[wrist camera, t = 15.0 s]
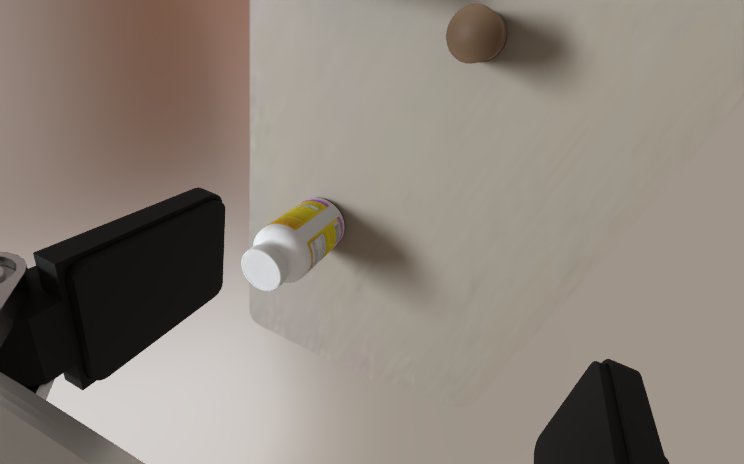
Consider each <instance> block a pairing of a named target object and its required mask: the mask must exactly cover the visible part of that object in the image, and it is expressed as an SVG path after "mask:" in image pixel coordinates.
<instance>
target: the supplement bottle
mask: <svg viewBox="0 0 744 464" xmlns="http://www.w3.org/2000/svg"><path fill="white" fill-rule="evenodd" d="M344 228H345V226H344V220H343V217H342V215H341V213H340V211H339V210H338V209H337V208H336V207H335V206H334V205H333V204H332V203H331V202H329V201H327V200H325V199H321V198H311V199H308V200H306V201H304V202H302V203H301V204H299V205H298V206H296V207H295V208H293V209H292V210H290V211H289V212H287V213H286V214H284V215H282V216H281V217H279V218H278V219H276V220H275V221H273V222H272V223H270V224H269V225H267V226H266V227H264V228H263V229H262V230H261V231H260V232H259V233H258V234H257V236H256V237H255V240H254V244H253V247H252V248H250V249H249V250H248V251H246V252H245V253H244V255H243V257H242V261H241V266H242V270H243V273H244V275H245V277H246V278H247V279H248V281H249V282H250V283H251V284H252V285H254V286H255V287H257V288H258V289H260V290H264V291H272V290H275V289H277V288H278V287H279V286H280V285H281V284H283V283H291V282H295V281H298V280H299V279H301V278H302V277H303V276H305V275H306V274H307V273H308V272H309V271H310V270H311V269H312V268H313V267H314V266H315V265H316V264H317V263H318V262H319V261H320V260H321V259H322V258H323V257H324V256H325V255H327V254H328V253H329V252H330V251H331V250H332V249H333V248H334V247H335V246H336V245H337V244H338V243H339V241H340V240H341V239H342V237H343V234H344Z"/></svg>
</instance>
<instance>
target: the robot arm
mask: <svg viewBox="0 0 744 464" xmlns="http://www.w3.org/2000/svg"><path fill="white" fill-rule="evenodd" d="M224 228H225V206H224V204H223V203H222V200H221V198H220V196H218V195H216V194H214V193H212V192H209V191H207V190H204V189H202V188H194V189H192V190H189V191H187V192H184V193H182V194H179V195H177V196H174V197H172V198H169V199H167V200H164V201H162V202H159V203H157V204H155V205H152V206H149V207H147V208H144V209H142V210H139V211H137V212H135V213H132V214H129V215H127V216H124V217H122V218H119V219H117V220H114V221H112V222H109V223H107V224H104V225H102V226H99V227H97V228H94V229H92V230H89V231H87V232H85V233H82V234H79V235H77V236H74V237H72V238H69V239H67V240H64V241H62V242H59V243H57V244H54V245H52V246H49V247H47V248H44V249H42V250H39V251H37V252H34V253H33V254H34V258H35V262H36V266H34V267H32V268H29V269H28V268H27V265H26V262H25V260H24V259H23V258H21V257H20V256H18V255H15V254H12V253H8V252H0V464H144V463H143V462H141V461H140V460H138V459H137V458H135V457H134V456H132V455H130V454H129V453H127V452H126V451H124V450H123V449H121V448H120V447H118V446H117V445H115V444H113V443H112V442H110V441H109V440H107V439H105V438H104V437H102V436H101V435H99V434H98V433H96V432H95V431H93V430H91V429H90V428H88V427H87V426H85V425H84V424H82V423H80V422H79V421H77V420H76V419H74V418H73V417H71V416H69V415H68V414H66V413H65V412H63V411H62V410H60V409H58V408H57V407H55V406H54V405H52V404H51V403H49V402H48V401H46V399H47V396H48V394H49V391H50V389H51V387H52V384H53V381H54V379H55V378H56V377H58V376H59V375H61V374H62V373H64V376H65V379H66V380H67V381H69V382H70V383H72V384H73V385H75V386H77V387H79V388H80V389H82V390H84V389H85V388H87V387H88V386H89V385H91V384H92V383H94V382H95V381H96V380H102V379H105V378H107V377H108V376H110V375H111V374H112V373H114V372H115V371H116V370H118V369H119V368H120V367H122V366H123V365H124V364H126V363H127V362H128V361H130V360H131V359H132V358H134V357H135V356H136V355H138V354H139V353H140V352H142V351H143V350H144V349H146V348H147V347H148V346H150V345H151V344H152V343H154V342H155V341H156V340H158V339H159V338H160V337H161V336H163V335H164V334H166V333H167V332H168V331H169V330H171V329H172V328H174V327H175V326H176V325H178V324H179V323H180V322H182V321H183V320H184V319H186V318H187V317H188V316H190V315H191V314H192V313H194V312H195V311H196V310H198V309H199V308H200V307H202V306H203V305H204V304H206V303H207V302H208V301H210V300H211V299H212V298H214V297H215V296H216V295H217V294H218V293H219V291H220V290H221V287H222V283H223V255H224ZM534 464H669V462H668V460H667V459H666V457H665V456H664V453H663V449H662V446H661V442H660V439H659V435H658V432H657V429H656V425H655V422H654V418H653V415H652V411H651V408H650V405H649V401H648V397H647V394H646V391H645V387H644V384H643V380H642V377H641V375H640V373H639V372H638V371H636V370H634V369H632V368H629V367H627V366H624V365H622V364H620V363H617V362H615V361H612V360H610V359H606V360H605V361H603V362H602V363H599V362H597V361H594V362H592V363H591V365H590V366H589V367H588V369H587V370H586V371H585V373H584V374H583V376H582V377H581V378H580V380H579V381H578V383H577V384H576V385H575V387H574V388H573V390H572V391H571V392H570V394H569V395H568V397H567V398H566V400H565V401H564V402H563V404H562V405H561V406H560V408H559V409H558V411H557V412H556V414H555V415H554V416H553V418H552V419H551V420H550V422H549V423H548V425H547V426H546V427H545V429H544V430H543V432H542V433H541V434H540V436H539V438H538V440H537V442H536V445H535V451H534Z"/></svg>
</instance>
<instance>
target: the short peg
mask: <svg viewBox="0 0 744 464" xmlns="http://www.w3.org/2000/svg"><path fill="white" fill-rule="evenodd" d="M506 39H507V27H506V23H505V21H504V20H503V18H502V17H501V16H500V15H499V14H497V13H496V12H494V11H493V10H492V9H490V8H489V7H487V6H485V5H481V4H472V5H468V6H466V7H464V8H462V9H460V10H459V11H458V12H457V13H456V14H455V15H454V16H453V18H452V19H451V21H450V23H449V25H448V28H447V34H446V40H447V46H448V48H449V51H450V52H451V54H452V55H453V56H454V57H455V58H456V59H457V60H459V61H461V62H464V63H477V62H482V61H486V60H489V59H492V58H493V57H495V56H496V55H497V54H499V52H500V51H501V50H502V49H503V47H504V45H505V42H506Z"/></svg>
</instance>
